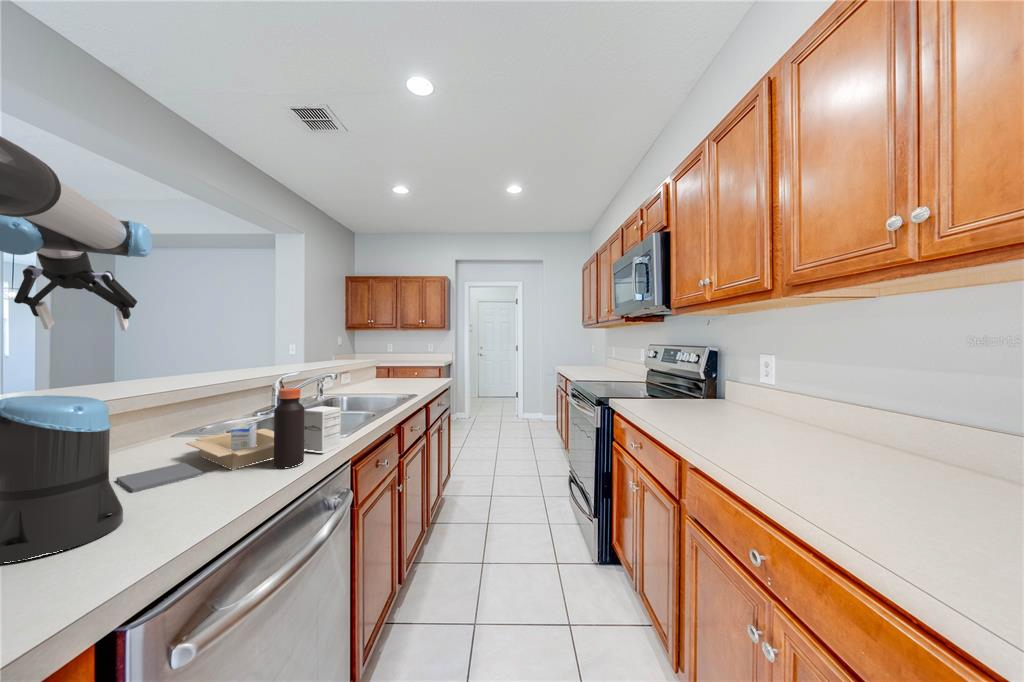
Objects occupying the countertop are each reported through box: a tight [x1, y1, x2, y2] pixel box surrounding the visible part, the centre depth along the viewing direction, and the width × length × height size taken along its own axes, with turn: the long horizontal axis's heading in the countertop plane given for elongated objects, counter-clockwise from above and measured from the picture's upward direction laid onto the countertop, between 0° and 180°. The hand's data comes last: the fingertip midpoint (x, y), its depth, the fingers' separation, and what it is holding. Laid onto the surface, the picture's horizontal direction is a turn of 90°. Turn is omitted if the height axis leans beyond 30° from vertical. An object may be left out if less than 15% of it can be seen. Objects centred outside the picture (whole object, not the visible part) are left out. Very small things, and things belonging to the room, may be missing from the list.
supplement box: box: [304, 405, 342, 451], centre depth 108 cm, size 7×7×13 cm
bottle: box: [273, 387, 305, 469], centre depth 95 cm, size 7×7×20 cm
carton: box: [185, 428, 274, 470], centre depth 102 cm, size 26×19×4 cm
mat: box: [116, 462, 203, 493], centre depth 85 cm, size 12×12×1 cm
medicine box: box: [230, 422, 258, 451], centre depth 102 cm, size 8×4×9 cm, turn 25°
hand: (88, 327), depth 94 cm, fingers open, 13 cm apart
